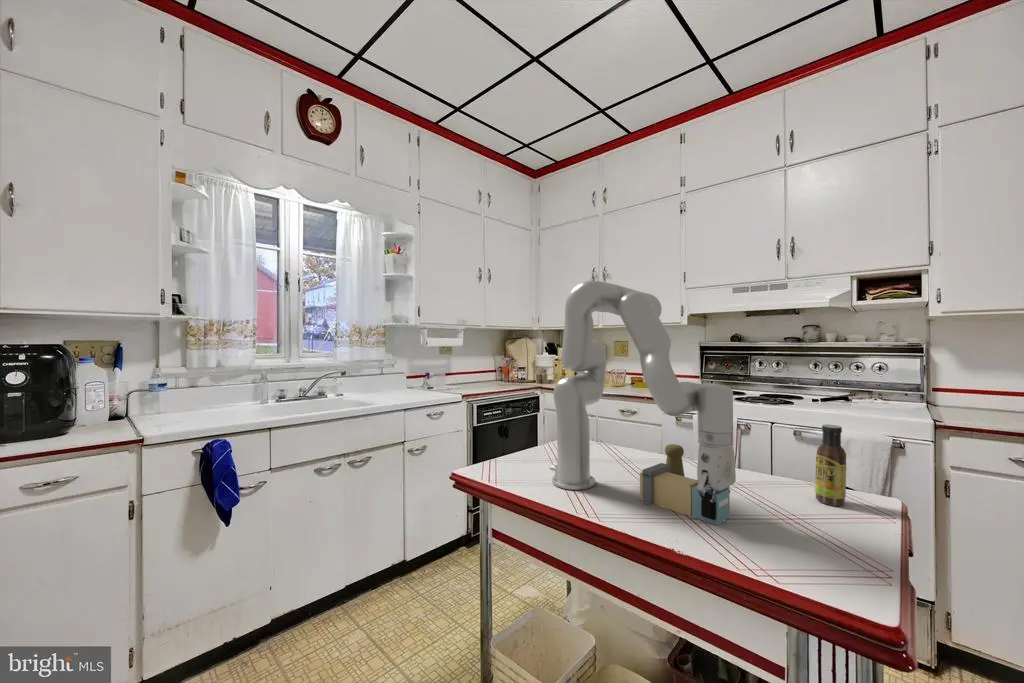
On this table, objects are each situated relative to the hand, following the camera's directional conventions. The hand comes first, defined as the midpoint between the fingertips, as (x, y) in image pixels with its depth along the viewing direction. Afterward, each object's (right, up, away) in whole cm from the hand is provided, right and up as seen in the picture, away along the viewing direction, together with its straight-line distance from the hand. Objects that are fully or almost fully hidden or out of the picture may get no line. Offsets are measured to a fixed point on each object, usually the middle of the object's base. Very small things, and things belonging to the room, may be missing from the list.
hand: (715, 513), depth 99 cm
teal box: (-1, -1, +1) cm, 2 cm away
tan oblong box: (-7, -1, +9) cm, 12 cm away
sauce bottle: (+34, -1, +9) cm, 35 cm away
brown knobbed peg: (0, -1, +25) cm, 25 cm away
